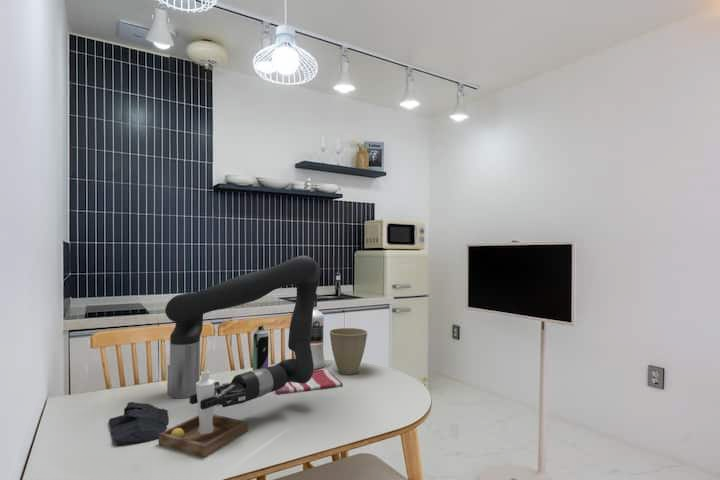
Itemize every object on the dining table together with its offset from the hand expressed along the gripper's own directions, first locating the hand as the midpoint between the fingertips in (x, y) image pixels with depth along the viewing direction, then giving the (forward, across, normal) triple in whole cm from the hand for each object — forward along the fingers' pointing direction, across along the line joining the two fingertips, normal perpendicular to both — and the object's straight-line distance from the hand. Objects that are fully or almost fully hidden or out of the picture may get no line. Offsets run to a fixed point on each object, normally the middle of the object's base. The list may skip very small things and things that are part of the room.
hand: (196, 402), depth 105 cm
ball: (+3, -3, +10) cm, 11 cm away
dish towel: (-49, -14, +12) cm, 53 cm away
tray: (-2, 0, +10) cm, 10 cm away
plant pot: (-70, -11, +11) cm, 72 cm away
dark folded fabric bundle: (+5, -20, +11) cm, 23 cm away
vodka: (-66, -26, +11) cm, 72 cm away
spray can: (-40, -28, +11) cm, 50 cm away
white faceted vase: (-3, 0, +8) cm, 9 cm away
